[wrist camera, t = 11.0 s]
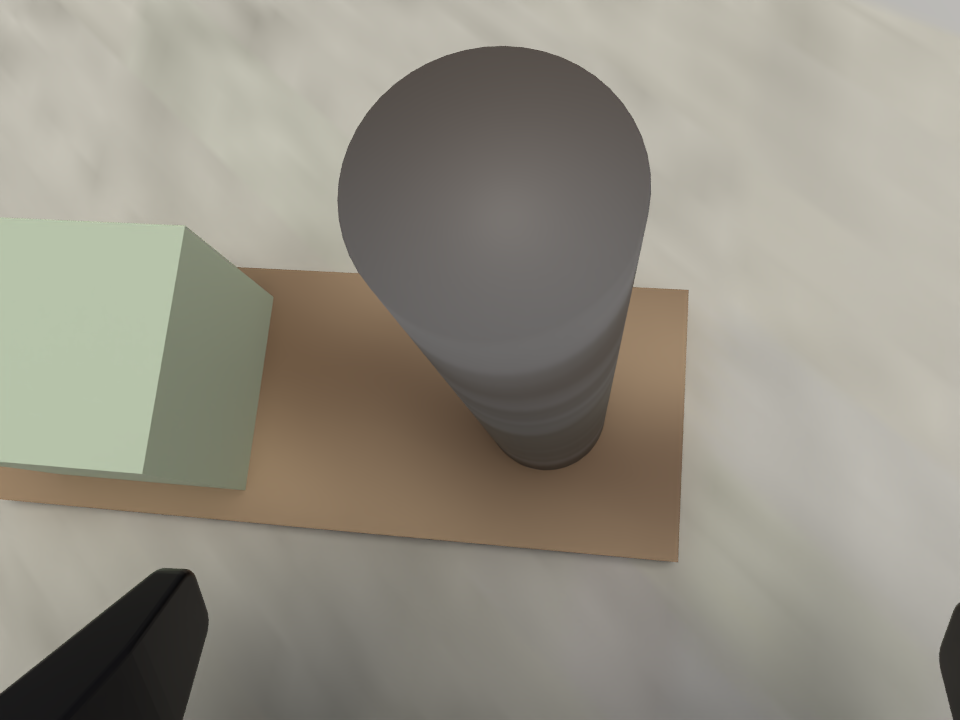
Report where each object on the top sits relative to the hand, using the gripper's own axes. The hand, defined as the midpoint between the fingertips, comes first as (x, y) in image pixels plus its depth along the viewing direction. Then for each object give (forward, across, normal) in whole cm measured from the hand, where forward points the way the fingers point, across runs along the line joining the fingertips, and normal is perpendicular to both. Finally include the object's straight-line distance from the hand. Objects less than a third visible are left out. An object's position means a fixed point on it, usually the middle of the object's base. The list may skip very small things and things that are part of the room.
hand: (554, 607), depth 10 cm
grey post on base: (+9, +6, +4) cm, 11 cm away
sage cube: (+9, +10, +3) cm, 13 cm away
